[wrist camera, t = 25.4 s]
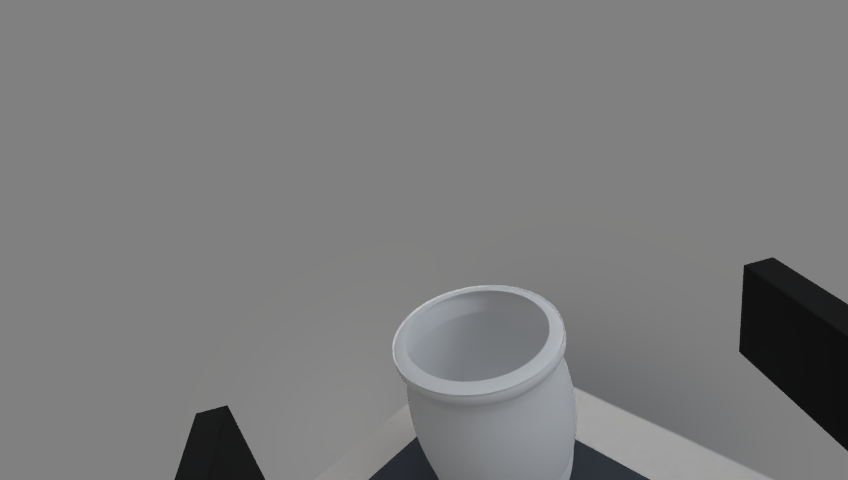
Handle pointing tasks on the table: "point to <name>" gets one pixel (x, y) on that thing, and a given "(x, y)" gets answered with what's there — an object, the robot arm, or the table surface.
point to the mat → (591, 476)
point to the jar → (489, 384)
